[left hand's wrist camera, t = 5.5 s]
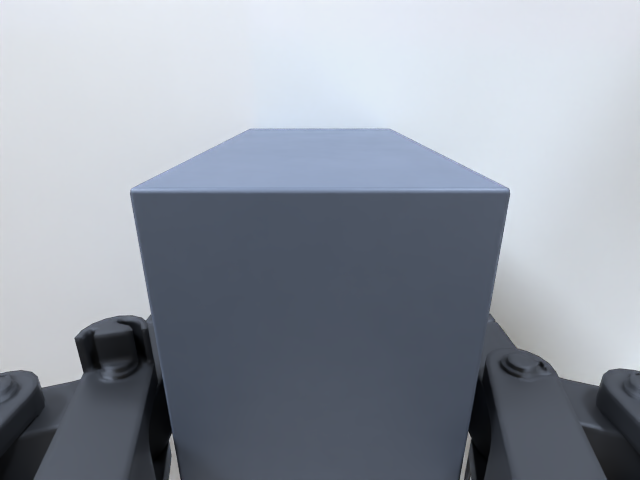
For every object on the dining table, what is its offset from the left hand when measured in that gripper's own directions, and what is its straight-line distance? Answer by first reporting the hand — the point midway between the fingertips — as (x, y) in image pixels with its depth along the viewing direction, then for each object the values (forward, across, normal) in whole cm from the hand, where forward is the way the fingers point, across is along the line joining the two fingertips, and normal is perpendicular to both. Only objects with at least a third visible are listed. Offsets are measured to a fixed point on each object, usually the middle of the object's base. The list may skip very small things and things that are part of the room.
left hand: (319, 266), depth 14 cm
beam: (+1, 0, -22) cm, 22 cm away
